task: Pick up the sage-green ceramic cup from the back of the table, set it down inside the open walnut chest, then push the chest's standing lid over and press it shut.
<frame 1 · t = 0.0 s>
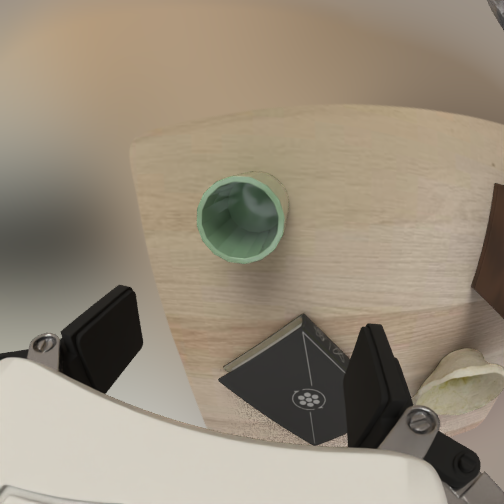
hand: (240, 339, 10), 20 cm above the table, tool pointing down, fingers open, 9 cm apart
green cup: (256, 203, 28), on the table
bowl: (447, 364, 31), on the table
book: (312, 385, 35), on the table
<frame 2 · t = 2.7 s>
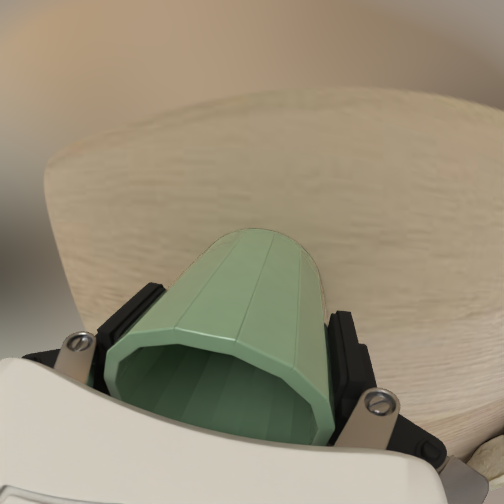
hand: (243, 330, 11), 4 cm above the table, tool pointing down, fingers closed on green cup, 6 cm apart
green cup: (257, 291, 14), on the table, touching gripper
bowl: (485, 443, 17), on the table
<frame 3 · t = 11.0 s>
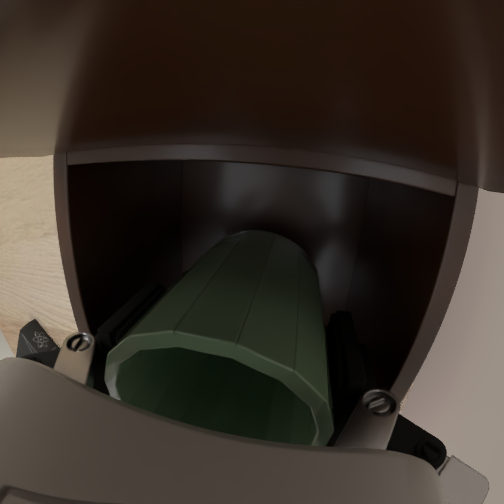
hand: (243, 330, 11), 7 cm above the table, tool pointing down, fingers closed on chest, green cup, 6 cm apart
green cup: (256, 292, 14), point 4 cm above the table, touching gripper
chest: (267, 256, 18), on the table
book: (78, 392, 30), on the table
when the fingers open (10 cm above the table, at t = 29.0 s): green cup drops 5 cm, resting on chest.
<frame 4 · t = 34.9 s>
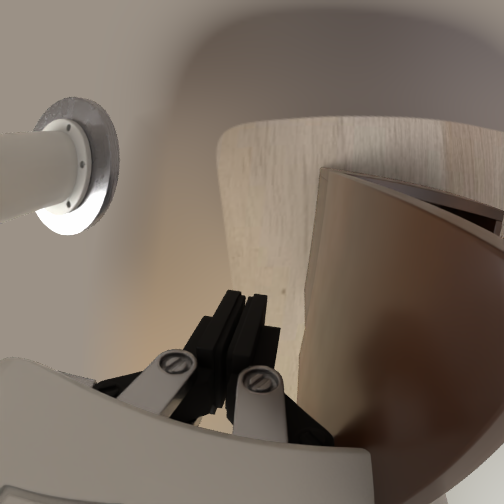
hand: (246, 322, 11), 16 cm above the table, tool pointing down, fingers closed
lid: (332, 355, 10), point 18 cm above the table, hinge at 89.7°, touching gripper
chest: (378, 240, 25), on the table
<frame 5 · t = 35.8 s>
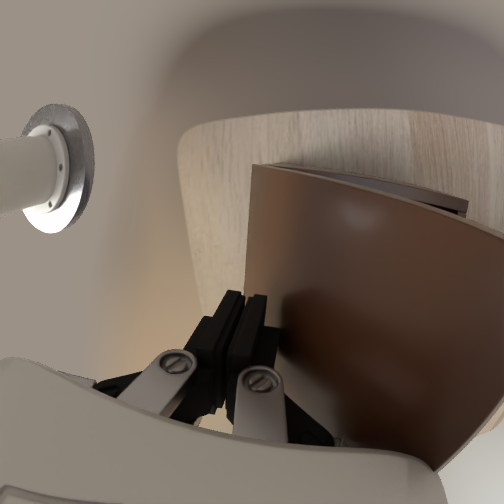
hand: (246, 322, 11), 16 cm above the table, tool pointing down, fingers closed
lid: (293, 346, 10), point 17 cm above the table, hinge at 66.9°
chest: (339, 236, 26), on the table
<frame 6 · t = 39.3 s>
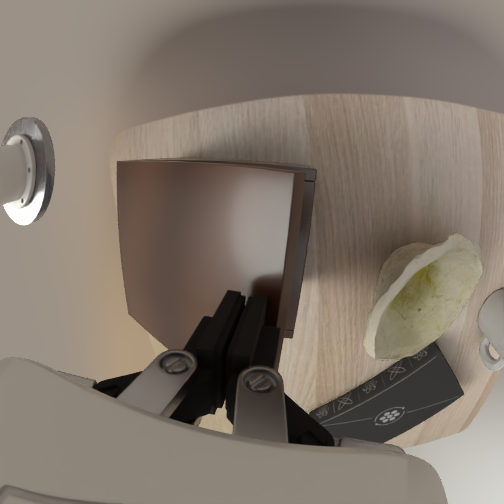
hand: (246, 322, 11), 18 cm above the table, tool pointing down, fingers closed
bowl: (408, 276, 28), on the table
lid: (177, 273, 15), point 14 cm above the table, hinge at 29.6°
chest: (238, 220, 29), on the table
book: (389, 399, 34), on the table
cup: (489, 317, 27), on the table
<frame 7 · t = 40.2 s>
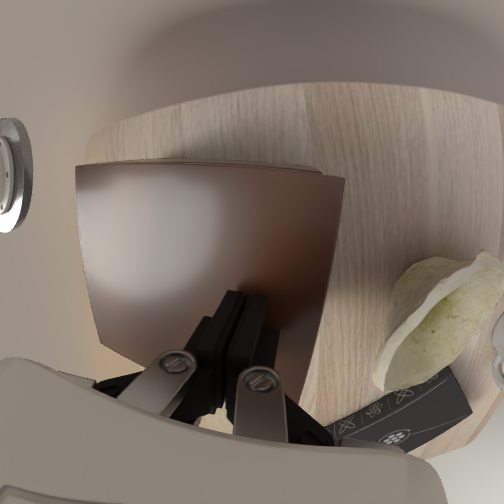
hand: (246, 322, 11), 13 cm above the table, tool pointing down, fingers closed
bowl: (422, 293, 24), on the table
lid: (172, 293, 13), point 12 cm above the table, hinge at 11.0°, touching gripper
chest: (227, 230, 25), on the table
book: (394, 420, 30), on the table
cup: (502, 333, 23), on the table
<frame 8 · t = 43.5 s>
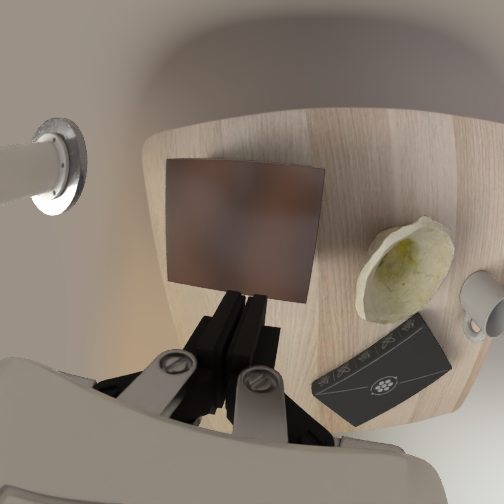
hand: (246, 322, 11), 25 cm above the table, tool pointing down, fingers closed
bowl: (394, 256, 34), on the table
lid: (237, 230, 25), point 11 cm above the table, hinge at 1.3°
book: (383, 371, 41), on the table
cup: (470, 297, 33), on the table
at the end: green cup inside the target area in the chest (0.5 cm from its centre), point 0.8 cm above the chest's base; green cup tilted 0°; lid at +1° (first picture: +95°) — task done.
